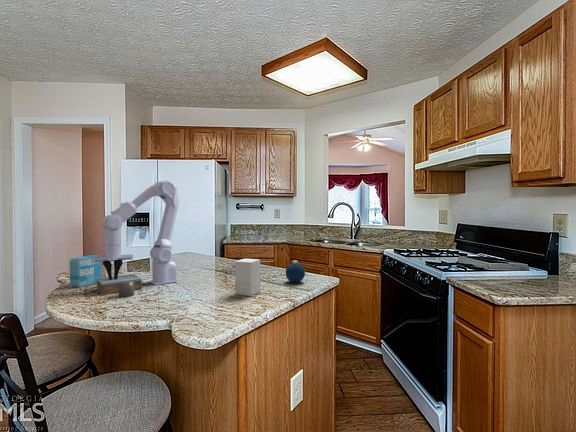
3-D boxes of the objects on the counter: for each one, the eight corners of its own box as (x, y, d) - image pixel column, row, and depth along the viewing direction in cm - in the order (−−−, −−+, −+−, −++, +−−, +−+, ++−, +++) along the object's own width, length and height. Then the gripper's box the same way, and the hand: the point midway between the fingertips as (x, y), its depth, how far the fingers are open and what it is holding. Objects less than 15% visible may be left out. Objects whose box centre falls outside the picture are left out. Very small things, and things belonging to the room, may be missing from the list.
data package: (78, 288, 138) (77, 259, 137) (69, 287, 139) (69, 258, 139) (102, 281, 149) (101, 254, 149) (94, 281, 150) (93, 254, 150)
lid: (133, 275, 144) (133, 273, 144) (141, 280, 135) (141, 278, 135) (96, 280, 136) (96, 278, 136) (102, 285, 126) (102, 283, 126)
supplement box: (261, 291, 130) (261, 259, 130) (251, 296, 124) (251, 262, 123) (245, 289, 133) (244, 258, 133) (234, 294, 127) (234, 260, 126)
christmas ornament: (294, 279, 151) (294, 257, 151) (309, 282, 146) (309, 259, 145) (281, 282, 145) (281, 259, 145) (295, 285, 140) (295, 261, 139)
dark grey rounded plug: (132, 293, 130) (131, 280, 130) (135, 295, 126) (135, 282, 125) (117, 295, 126) (117, 282, 126) (120, 298, 122) (120, 284, 122)
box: (133, 283, 144) (133, 276, 144) (141, 289, 135) (141, 280, 135) (96, 289, 136) (96, 280, 136) (102, 295, 126) (102, 286, 126)
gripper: (93, 247, 126) (93, 283, 126) (134, 244, 135) (135, 278, 135) (90, 245, 131) (90, 280, 132) (130, 243, 140) (130, 275, 141)
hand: (113, 279), depth 134 cm, fingers closed on lid
